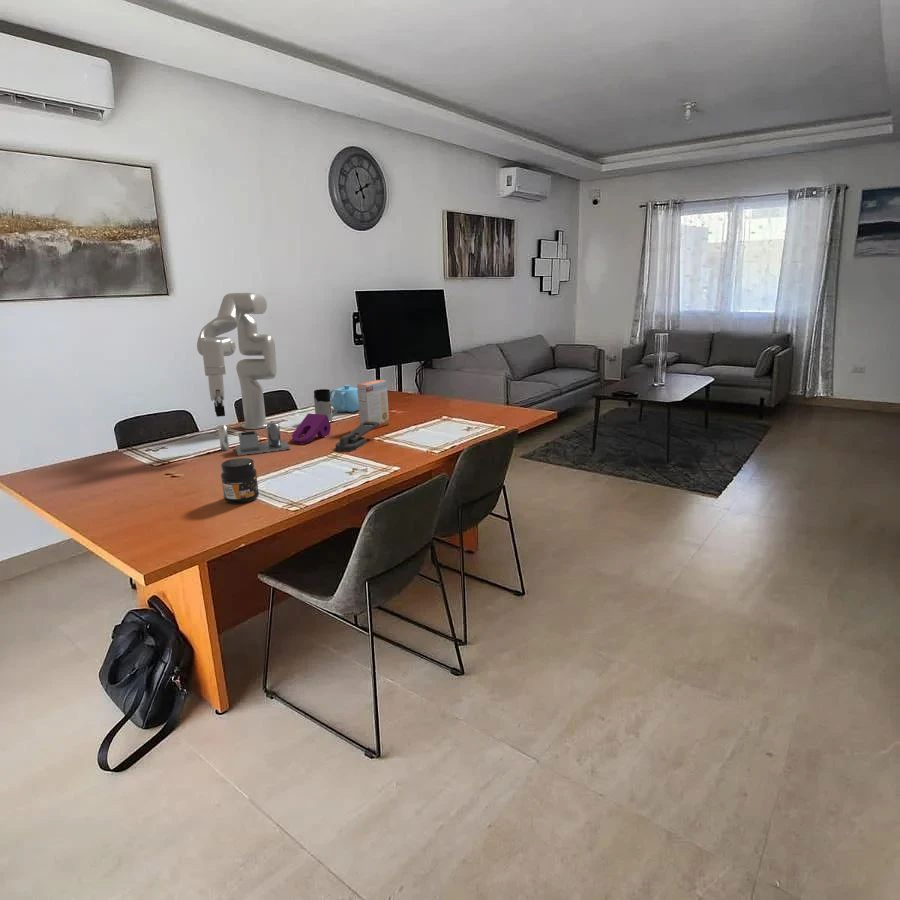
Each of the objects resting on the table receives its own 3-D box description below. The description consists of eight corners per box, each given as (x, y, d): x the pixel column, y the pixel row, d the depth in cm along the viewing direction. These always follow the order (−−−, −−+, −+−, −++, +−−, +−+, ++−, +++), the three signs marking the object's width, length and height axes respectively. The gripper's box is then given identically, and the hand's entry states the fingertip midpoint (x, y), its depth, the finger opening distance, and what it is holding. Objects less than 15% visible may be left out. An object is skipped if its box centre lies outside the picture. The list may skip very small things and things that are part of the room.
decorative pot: (338, 415, 301) (336, 389, 297) (328, 409, 315) (326, 384, 311) (368, 411, 308) (367, 385, 305) (357, 406, 322) (356, 381, 318)
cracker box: (380, 423, 283) (377, 379, 277) (389, 424, 280) (387, 380, 274) (359, 429, 272) (356, 383, 267) (369, 430, 269) (366, 384, 263)
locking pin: (220, 449, 243) (217, 425, 240) (229, 448, 244) (226, 424, 241) (221, 451, 240) (218, 427, 237) (229, 450, 241) (226, 426, 239)
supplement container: (225, 507, 180) (220, 469, 177) (223, 496, 189) (218, 460, 186) (261, 501, 184) (257, 464, 181) (257, 491, 193) (253, 455, 190)
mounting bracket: (313, 456, 252) (332, 429, 264) (307, 441, 246) (326, 414, 259) (294, 454, 255) (314, 428, 267) (287, 439, 249) (308, 413, 262)
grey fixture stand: (235, 448, 244) (232, 424, 241) (285, 442, 251) (283, 419, 248) (238, 456, 233) (235, 431, 230) (290, 449, 241) (287, 425, 238)
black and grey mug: (316, 419, 293) (313, 389, 289) (345, 418, 294) (343, 388, 290) (314, 423, 284) (311, 392, 280) (344, 422, 286) (342, 391, 282)
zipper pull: (381, 422, 256) (350, 436, 234) (382, 437, 258) (351, 452, 236) (363, 420, 260) (331, 434, 237) (364, 435, 261) (332, 450, 239)
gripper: (204, 369, 239) (209, 411, 244) (205, 374, 224) (210, 418, 228) (223, 368, 242) (228, 409, 247) (226, 372, 227) (231, 417, 231)
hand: (220, 414), depth 237 cm, fingers open, 9 cm apart
